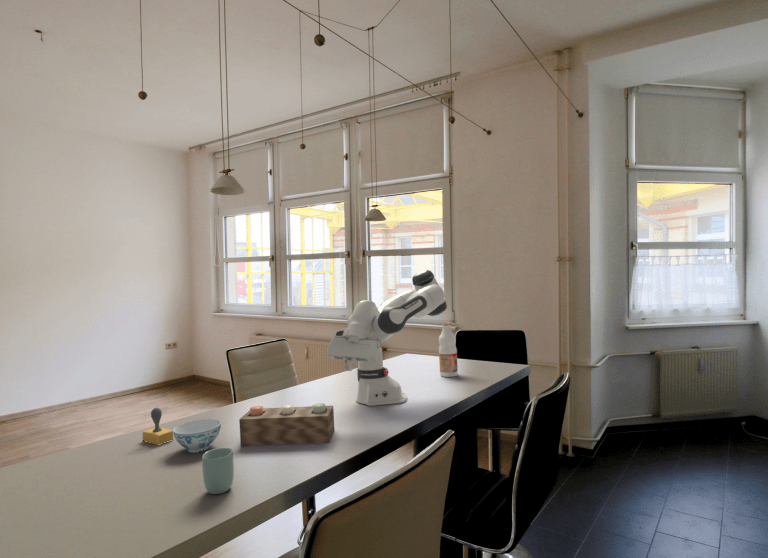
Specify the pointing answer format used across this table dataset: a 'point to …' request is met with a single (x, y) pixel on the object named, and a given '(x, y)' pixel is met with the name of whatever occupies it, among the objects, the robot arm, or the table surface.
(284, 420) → the console
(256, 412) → the terracotta button
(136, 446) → the table surface
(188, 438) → the chinaware
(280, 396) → the table surface
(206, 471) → the cup
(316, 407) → the sage button
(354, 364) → the robot arm
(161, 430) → the rubber stamp
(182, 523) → the table surface
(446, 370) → the fruit juice
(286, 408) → the cream button
